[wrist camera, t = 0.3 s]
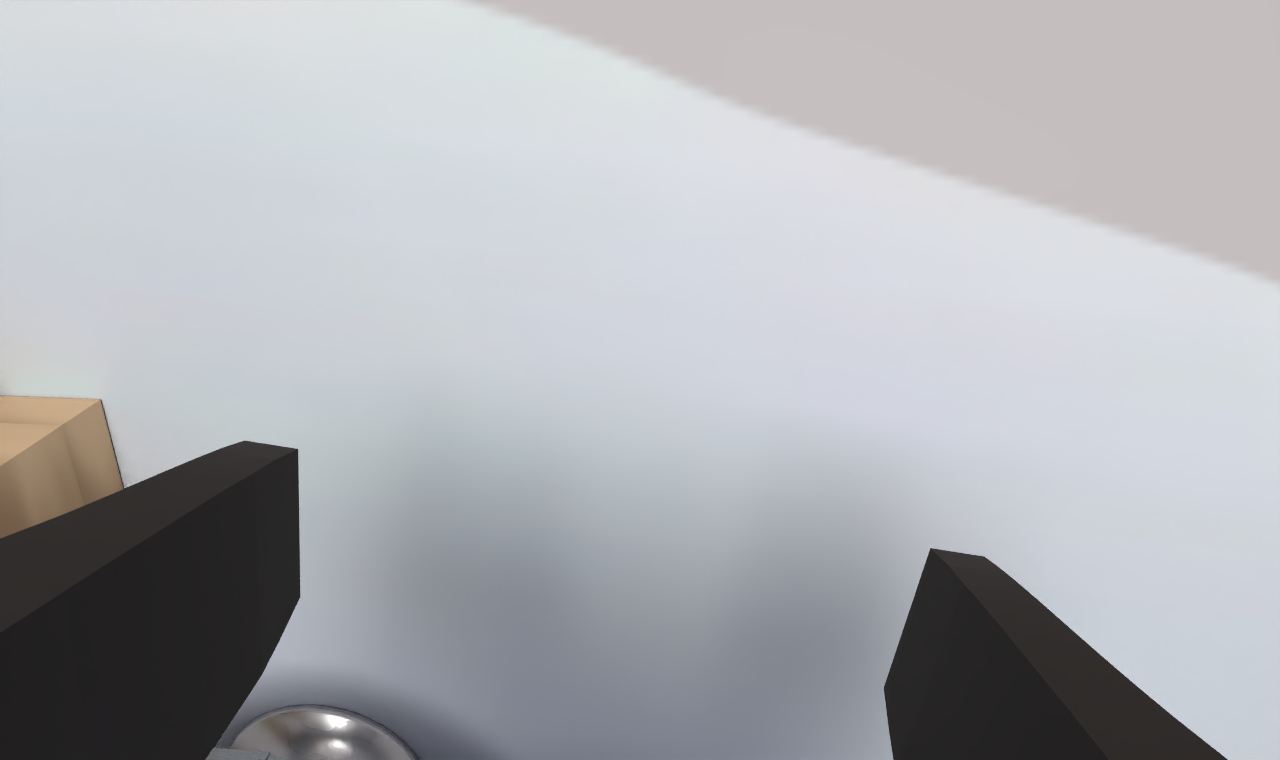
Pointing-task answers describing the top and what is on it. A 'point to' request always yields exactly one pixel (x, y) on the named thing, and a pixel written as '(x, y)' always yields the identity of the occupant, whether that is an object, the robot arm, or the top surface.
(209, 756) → the locking wheel
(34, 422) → the block
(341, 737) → the axle post
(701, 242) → the top surface
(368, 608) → the top surface
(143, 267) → the top surface
